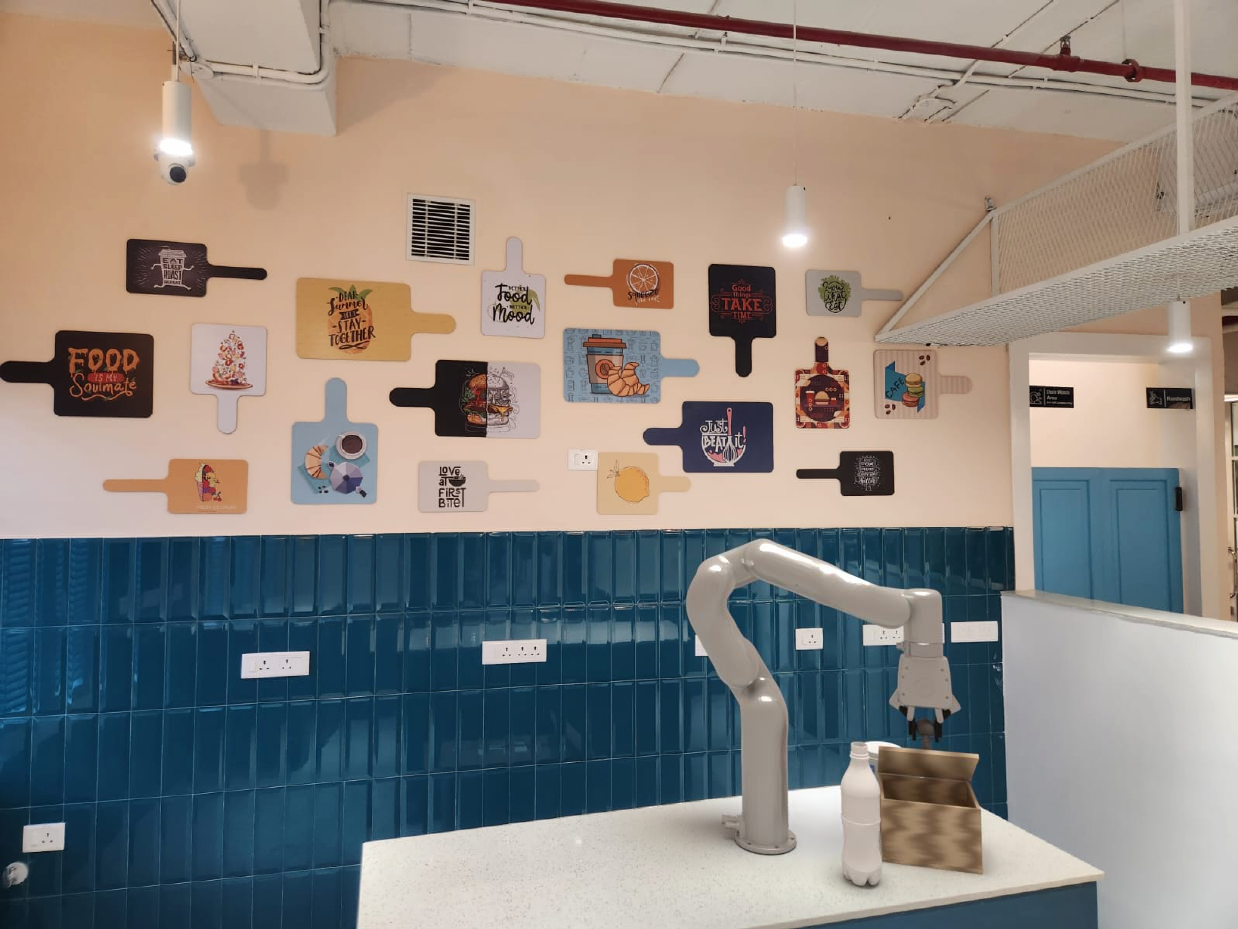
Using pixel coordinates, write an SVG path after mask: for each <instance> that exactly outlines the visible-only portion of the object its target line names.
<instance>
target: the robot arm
mask: <svg viewBox="0 0 1238 929" xmlns="http://www.w3.org/2000/svg"><path fill="white" fill-rule="evenodd" d="M758 580H760V581H763V582H766V584H767V583H768V584H771V585H773V586H776V587H778V588H781V589H784V590H787V591H789V592H792V593H794V594H796V595H798V596H801V597H804V598H806V599H808V600H811V601H814V602H816V603H819V604H821V605H823V606H827V607H830V608H832V609H835V610H838V611H841V612H843V613H845V614H848V615H850V616H853V617H854V618H858V619H860V620H863V621H866V622H868V623H870V624H873V625H876V626H878V627H881V628H883V629H888V630H896V629H899V628H903V632H902V633H903V640H901V641H900V642H896V644H895V646H896V650H900V651H902V652H903V653H901V654H900V656H899V663H898V671H897V688H896V689H895V691H894V693H893V694H892V695H891V697H890V699H889V701H888V703H889V705H890V706H892V707H893V708H895V709H896V710H898V711H900V713H901V714H902V715H903V716H904V717H905V718H906V719H907V731H908V732H907V734H908V736H911V740H912V742H915V741H917V730H916V723H917V722H916V718H915V708H920V709H921V708H922V709H934V713H935V716H934V719H933V721H932V722H933V724H934V728H935V730H934V733H933V741H934V742H935V743H936V744H939V743H940V739H941V738H943V723H944V721H946V719H948V718H949V717H950V716H951V715H952V714H954V713H956V712H958V711H960V710H961V709H962V708H961V705H960V703H959V702H958V700H957V699H956V697H955V695H953V692H952V691H953V690H952V681H951V678H952V677H951V672H950V671H951V670H950V665H949V661H948V660H949V659H948V658H947V657H946V656H944V641H943V639H944V638H943V636H944V634H943V632H944V631H943V630H944V629H943V600H942V595H941V593H940V592H939V591H938V590H936V589H932V588H916V587H915V588H909V589H903V588H894V587H889V586H881V585H877V584H874V583H872V582H869V581H867V580H865V579H862V578H859V577H857V576H855V575H852V574H850V573H848V572H846V571H844V570H843V569H841V568H839V567H838V566H836V565H833V564H832V563H830V562H827V561H824V560H821V559H819V558H816V557H814V556H812V555H808V554H807V553H803V552H800V551H799V550H798V551H797V550H795V549H793V548H790V547H787V546H785V545H782V544H779V543H777V542H775V541H773V540H770V539H767V538H758V539H755V540H752V541H750V542H747V543H745V544H742V545H740V546H737V547H735V548H731V549H730V550H726V551H725V552H722V553H720V554H716V555H714V556H711V557H709V558H707V559H705V560H704V561H703V562H701V563H700V564H699V566H698V568H697V571H696V573H695V575H694V577H693V579H692V580H691V582H690V585H689V587H688V589H687V592H686V593H687V594H686V601H685V607H686V609H685V610H686V614H687V617H688V620H689V622H690V625H691V627H692V629H693V630H694V633H695V634H696V636H697V638H698V640H699V641H700V643H701V644H700V645H702V647H703V649H704V651H705V653H706V654H707V656H708V658H709V660H710V662H711V663H712V666H713V667H714V669H715V672H716V674H717V676H718V677H719V679H720V680H721V681H722V682H723V683H724V684H725V685H727V686H728V687H729V690H730V691H731V692H732V694H733V695H734V697H735V699H736V701H737V702H738V705H739V708H740V709H739V710H740V726H741V729H740V730H741V731H740V732H741V733H740V734H741V735H740V739H741V740H740V742H741V745H740V749H741V750H740V752H741V753H740V754H741V760H740V761H741V762H740V763H741V799H742V800H741V814H737V815H736V816H734V815H730V814H721V825H725V829H728V830H735V832H734V834H735V835H734V839H735V842H736V844H737V845H739V846H740V847H741V848H743V849H745V850H747V851H749V852H752V853H757V854H763V855H778V854H783V853H788V852H790V851H792V850H793V849H794V848H796V846H797V835H796V834H795V833H794V832H793V831H792V830H791V829H790V828H789V774H788V772H789V770H788V769H789V767H788V737H789V736H788V735H789V712H788V707H787V703H786V701H785V698H784V696H783V693H782V692H781V690H780V687H779V685H778V684H777V683H776V680H775V679H774V678H773V676H772V674H771V672H770V670H769V668H767V665H766V664H765V662H764V660H763V659H762V657H761V656H760V654H759V652H758V650H757V649H756V647H755V646H754V644H753V643H752V642H751V641H750V640H749V639H747V638H746V637H745V636H743V634H742V633H741V631H740V629H739V628H738V625H737V624H736V621H735V620H734V618H733V616H732V615H731V612H729V609H728V598H729V596H730V595H731V594H732V593H733V590H735V589H738V588H740V587H743V586H746V585H749V584H750V583H753V582H755V581H758Z"/></svg>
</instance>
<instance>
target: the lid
mask: <svg viewBox="0 0 1238 929" xmlns="http://www.w3.org/2000/svg"><path fill="white" fill-rule="evenodd" d="M934 730H935V728H934V722H933V721H932V720H930V719H928V718H923V717H922V718H920V719H918V720H917V722H916V733H917V734H918V735H919V736H921V748H922V749H921V748H920V749H919V748H911V747H910V748H908V747H901V748H899V747H887V746H879V750H878V768H877V770H878V773H887V774H898V775H904V776H914V777H924V778H935V779H945V780H956V781H966V782H971V781H972V778H973V776H974V774H975V773H974V772H975V770H976V768H977V764H978V763H979V760H980V757H979V755H980V754H978V753H967V752H966V753H965V752H956V751H943V750H932V746H931V736H932V735H934Z"/></svg>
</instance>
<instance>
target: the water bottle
mask: <svg viewBox="0 0 1238 929" xmlns="http://www.w3.org/2000/svg"><path fill="white" fill-rule="evenodd" d="M850 749H851V750H850V754H849V757H850V762H849V765H848V766H847V768H846V771H845V773H844V774H843V777H842V779H841V783H840V788H839V789H840V797H841V799H840V800H841V804H840V805H841V807H840V808H841V813H840V820H841V823H842V829H843V830H842V831H843V844H842V845H843V846H842V852H841V868H842V871H843V873H844V876H845V878H846V879H847V880H848V881H852V883H853V884H854V885H856V886H859V887H863V886H865V885H866V883H867V882H868V883H869V885H871V886H875V885H876V884H878V882H879V880H880V878H881V875H882V869H883V867H882V864H883V861H882V854H881V852H880V844H879V839H880V838H879V837H880V821H881V818H880V787H879V784H878V782H877V780H876V777H875V775H874V774H873V772H872V770H871V768H870V766H869V762H868V759H869V755H868V746H867V744H866V743H865V742H863V741H853V742H851V743H850Z"/></svg>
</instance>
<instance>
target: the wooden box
mask: <svg viewBox="0 0 1238 929" xmlns="http://www.w3.org/2000/svg"><path fill="white" fill-rule="evenodd" d="M970 782H971V781H961V780H950V779H940V778H929V777H919V776H908V775H904V776H903V775H893V774H883V773H879V787H880V818H881V821H880V827H879V837H880V838H879V839H880V846H881V848H880V849H881V859H882V863H889V862H890V863H891V864H897V863H900V864H899V865H906V866H913V867H923V868H930V869H937V870H944V869H946V870H945V871H953V872H961V873H969V874H976V873H977V875H983V873H984V871H983V865H984V864H983V836H982V835H983V833H982V828H983V827H982V809H981V806H980V805H979V801H978V799H977V797H976V795H975V792H974V790H973V788H972V784H971V783H970Z"/></svg>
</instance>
